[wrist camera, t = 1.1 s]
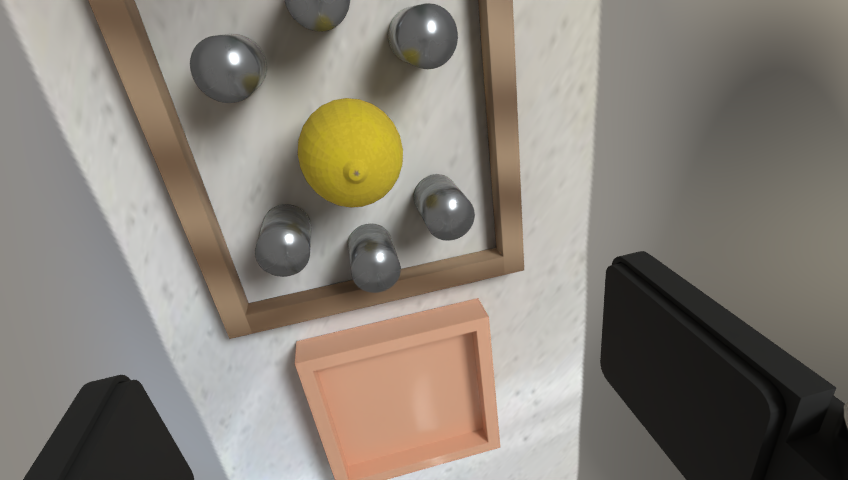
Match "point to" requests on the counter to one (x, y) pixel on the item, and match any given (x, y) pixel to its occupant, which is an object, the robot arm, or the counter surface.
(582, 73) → the counter surface
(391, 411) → the dish
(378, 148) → the lemon
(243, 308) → the frame
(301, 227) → the posts
